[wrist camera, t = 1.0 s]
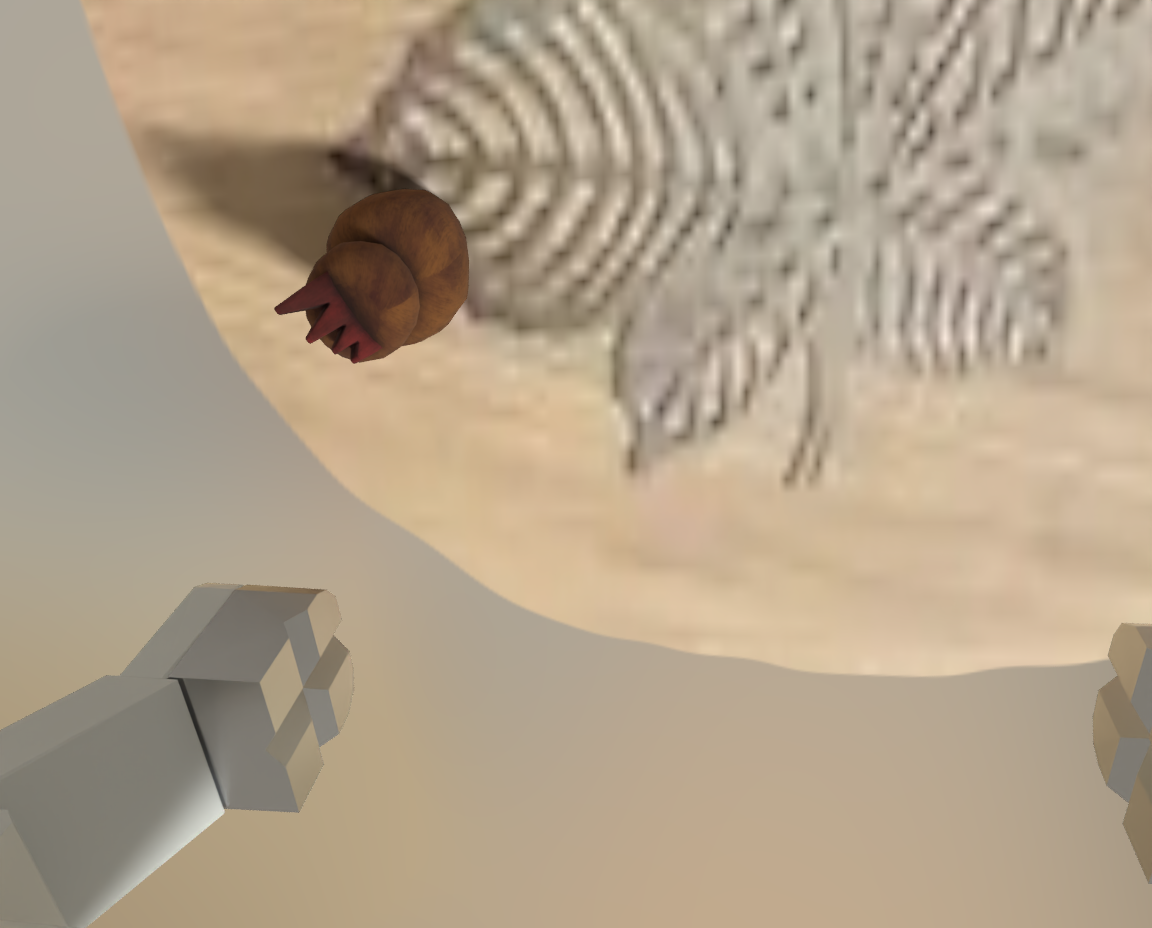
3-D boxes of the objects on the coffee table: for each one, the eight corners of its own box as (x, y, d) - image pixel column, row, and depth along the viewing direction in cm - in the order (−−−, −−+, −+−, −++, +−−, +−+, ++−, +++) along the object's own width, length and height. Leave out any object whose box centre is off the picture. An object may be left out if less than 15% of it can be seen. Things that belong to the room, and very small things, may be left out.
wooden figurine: (354, 183, 47) (207, 275, 34) (462, 164, 46) (353, 252, 33) (392, 311, 50) (270, 440, 37) (494, 296, 49) (406, 425, 36)
